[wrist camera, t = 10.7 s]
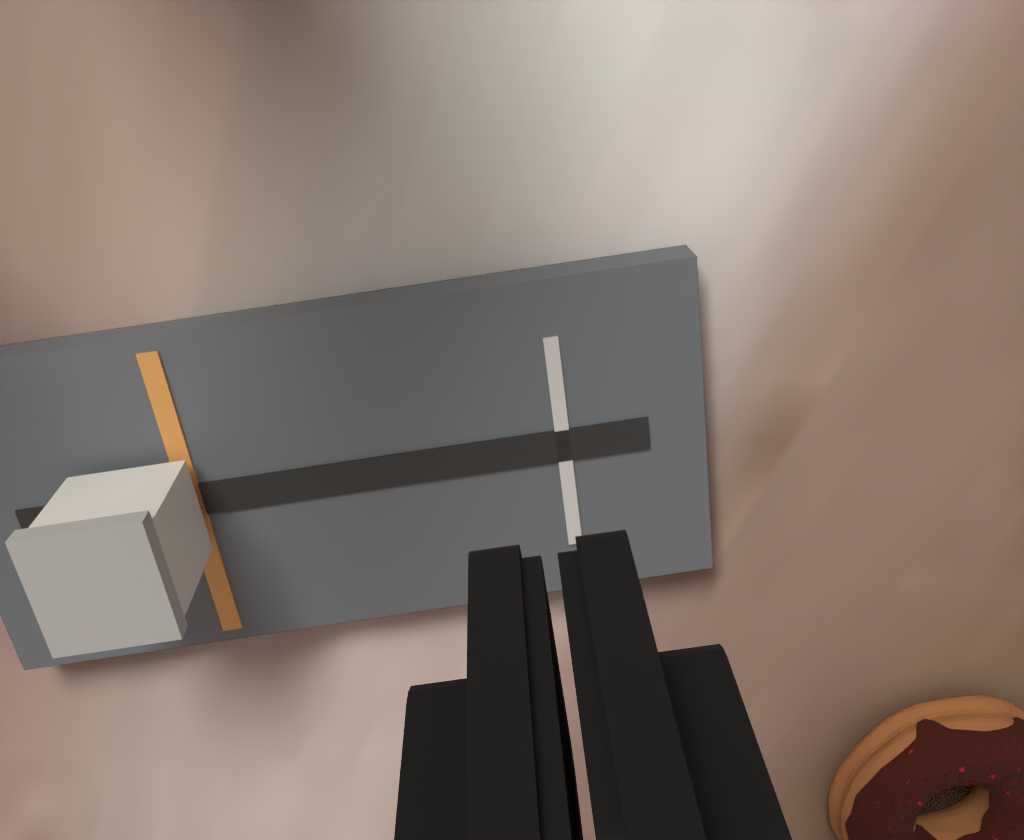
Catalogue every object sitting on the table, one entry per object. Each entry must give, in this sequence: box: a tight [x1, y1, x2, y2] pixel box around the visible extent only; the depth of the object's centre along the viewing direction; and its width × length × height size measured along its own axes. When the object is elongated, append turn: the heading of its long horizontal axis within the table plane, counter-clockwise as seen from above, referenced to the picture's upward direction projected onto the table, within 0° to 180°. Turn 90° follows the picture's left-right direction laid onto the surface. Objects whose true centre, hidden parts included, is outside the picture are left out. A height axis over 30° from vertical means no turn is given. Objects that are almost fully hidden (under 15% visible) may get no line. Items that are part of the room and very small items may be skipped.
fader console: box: [0, 245, 713, 670], centre depth 34 cm, size 26×12×2 cm, turn 98°
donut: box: [828, 695, 1024, 840], centre depth 41 cm, size 10×10×4 cm
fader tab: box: [5, 460, 213, 658], centre depth 31 cm, size 4×4×5 cm
